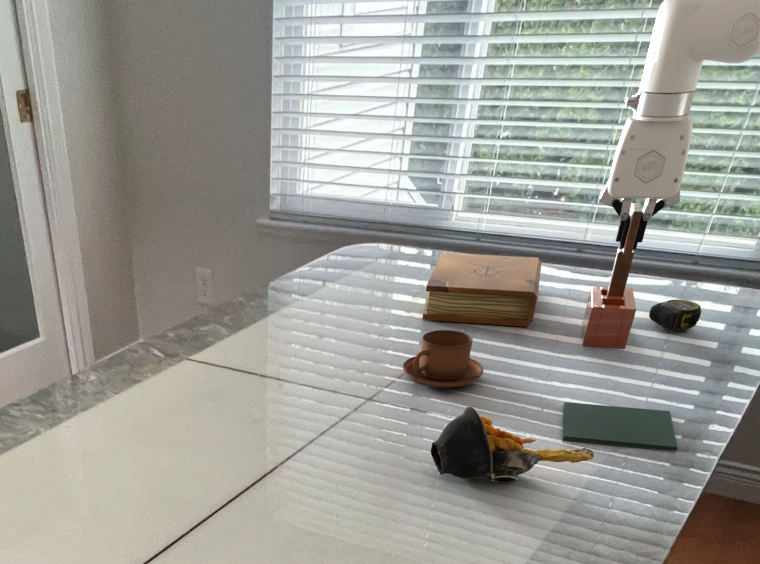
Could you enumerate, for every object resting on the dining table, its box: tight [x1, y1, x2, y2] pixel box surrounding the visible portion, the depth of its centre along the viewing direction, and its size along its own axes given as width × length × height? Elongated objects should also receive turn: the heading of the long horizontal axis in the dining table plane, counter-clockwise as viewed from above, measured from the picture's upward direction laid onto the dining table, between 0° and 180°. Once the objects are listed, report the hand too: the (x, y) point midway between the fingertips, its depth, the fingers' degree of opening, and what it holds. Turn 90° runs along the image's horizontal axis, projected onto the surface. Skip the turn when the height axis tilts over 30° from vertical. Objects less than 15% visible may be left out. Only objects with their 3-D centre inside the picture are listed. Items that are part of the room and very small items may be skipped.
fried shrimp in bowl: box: [430, 405, 595, 483], centre depth 102 cm, size 9×11×18 cm
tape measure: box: [648, 299, 702, 332], centre depth 142 cm, size 7×7×4 cm
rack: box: [581, 285, 637, 350], centre depth 140 cm, size 7×12×6 cm, turn 163°
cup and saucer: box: [402, 329, 484, 389], centre depth 127 cm, size 12×12×6 cm
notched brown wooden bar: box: [606, 202, 643, 297], centre depth 136 cm, size 2×6×16 cm, turn 163°
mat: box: [562, 401, 678, 452], centre depth 115 cm, size 14×12×1 cm
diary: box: [422, 252, 542, 328], centre depth 154 cm, size 23×19×6 cm
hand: (627, 246), depth 135 cm, fingers closed on notched brown wooden bar, 1 cm apart
